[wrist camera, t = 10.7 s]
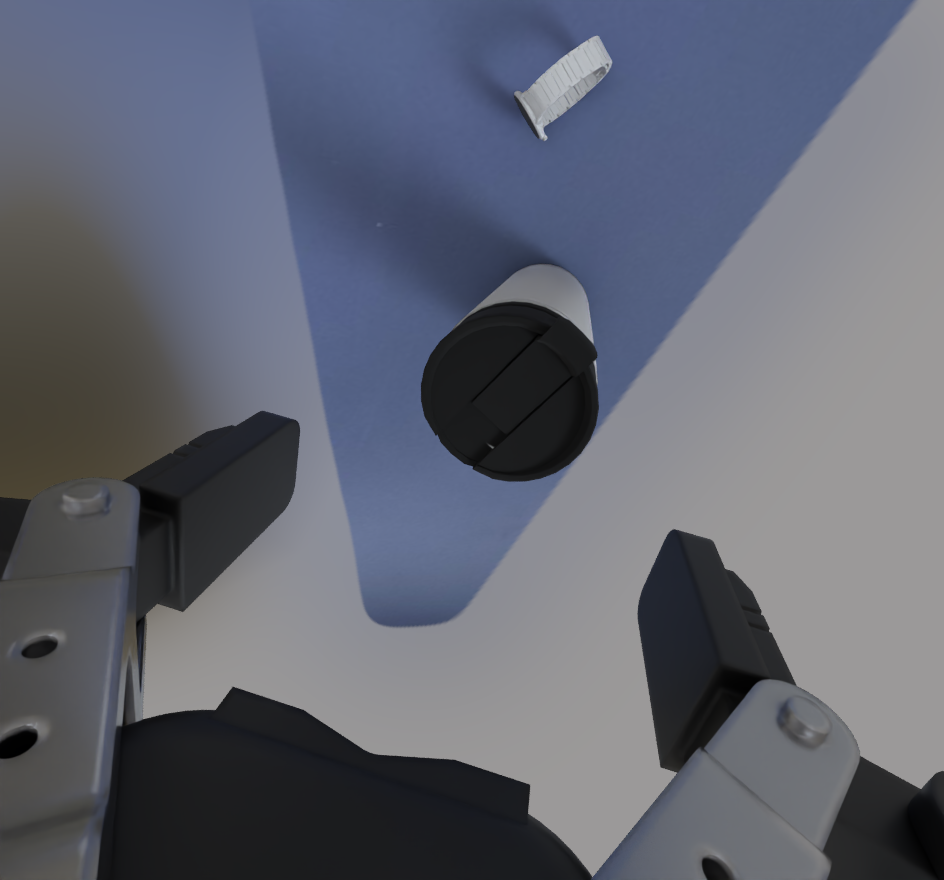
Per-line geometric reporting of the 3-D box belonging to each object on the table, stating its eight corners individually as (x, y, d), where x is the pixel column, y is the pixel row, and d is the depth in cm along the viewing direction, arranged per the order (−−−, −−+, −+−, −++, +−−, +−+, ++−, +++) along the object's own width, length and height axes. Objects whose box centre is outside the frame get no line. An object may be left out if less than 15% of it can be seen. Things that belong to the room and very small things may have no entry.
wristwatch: (516, 105, 31) (506, 86, 27) (590, 41, 30) (593, 10, 25) (543, 149, 32) (537, 138, 27) (617, 90, 30) (624, 67, 26)
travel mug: (613, 307, 35) (652, 405, 17) (541, 375, 37) (506, 526, 19) (545, 237, 34) (507, 261, 16) (476, 313, 36) (376, 409, 18)
